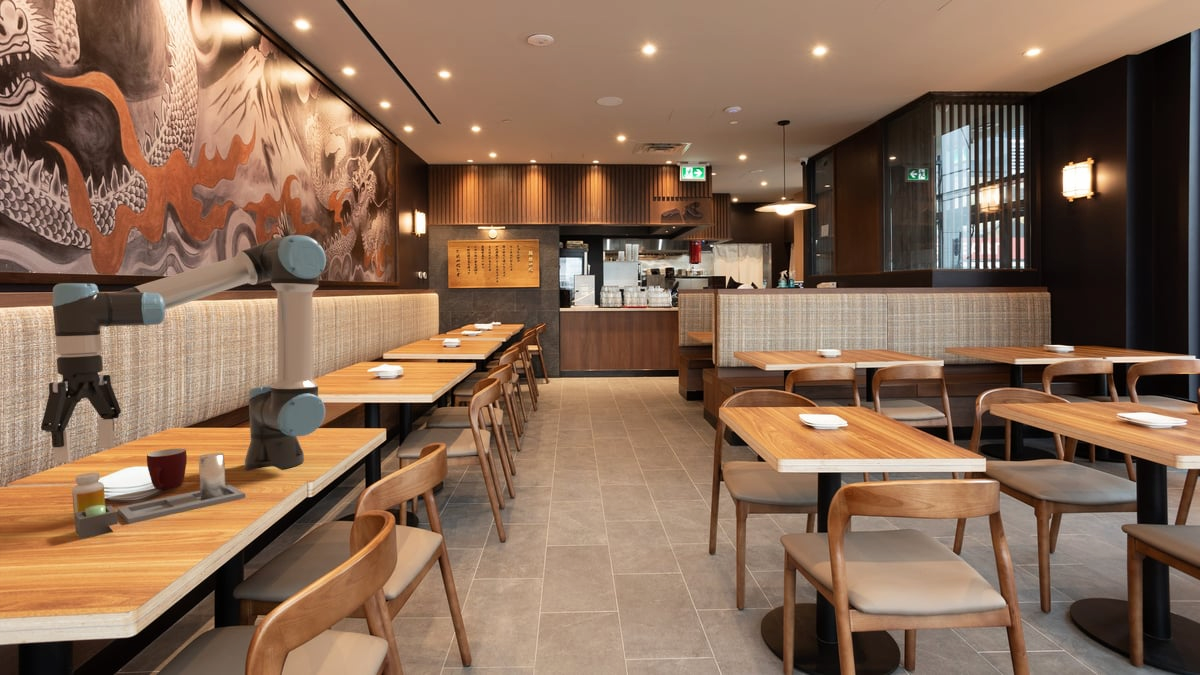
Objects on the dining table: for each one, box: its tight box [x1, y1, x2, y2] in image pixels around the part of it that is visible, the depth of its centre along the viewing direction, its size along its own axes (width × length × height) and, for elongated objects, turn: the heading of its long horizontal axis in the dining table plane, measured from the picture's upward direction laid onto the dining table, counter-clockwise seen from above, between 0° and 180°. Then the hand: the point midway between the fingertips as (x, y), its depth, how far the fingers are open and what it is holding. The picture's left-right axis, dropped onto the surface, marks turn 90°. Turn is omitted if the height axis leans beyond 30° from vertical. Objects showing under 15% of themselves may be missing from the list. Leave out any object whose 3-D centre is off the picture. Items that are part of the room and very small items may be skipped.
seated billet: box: [198, 452, 227, 501], centre depth 144 cm, size 5×5×10 cm
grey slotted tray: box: [116, 484, 246, 525], centre depth 140 cm, size 22×11×2 cm, turn 137°
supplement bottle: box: [71, 472, 106, 521], centre depth 136 cm, size 5×5×10 cm
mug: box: [146, 448, 188, 491], centre depth 153 cm, size 10×8×10 cm
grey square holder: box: [73, 505, 119, 540], centre depth 128 cm, size 6×6×4 cm
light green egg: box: [85, 504, 106, 517], centre depth 128 cm, size 3×3×4 cm
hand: (86, 454), depth 135 cm, fingers open, 11 cm apart
